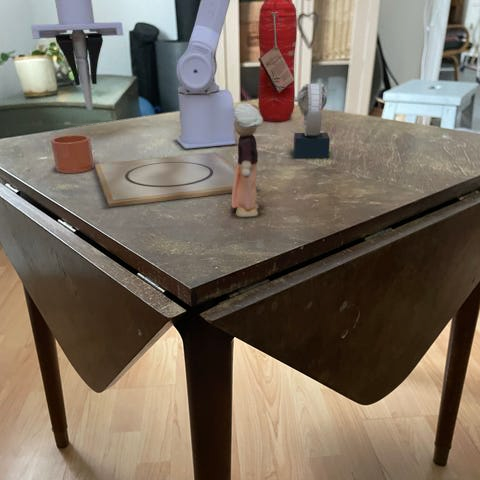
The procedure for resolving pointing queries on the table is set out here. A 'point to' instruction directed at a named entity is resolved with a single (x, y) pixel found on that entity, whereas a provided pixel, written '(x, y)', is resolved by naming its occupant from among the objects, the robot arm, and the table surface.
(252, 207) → the grandmother figurine
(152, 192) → the sketch board
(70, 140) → the pen pot
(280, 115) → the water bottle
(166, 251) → the table surface
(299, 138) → the watch
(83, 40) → the pen
